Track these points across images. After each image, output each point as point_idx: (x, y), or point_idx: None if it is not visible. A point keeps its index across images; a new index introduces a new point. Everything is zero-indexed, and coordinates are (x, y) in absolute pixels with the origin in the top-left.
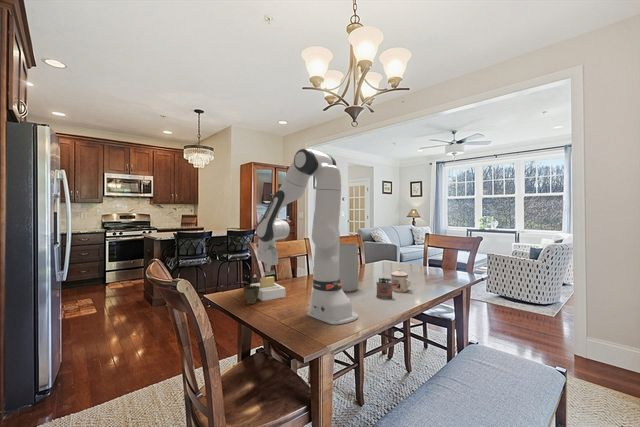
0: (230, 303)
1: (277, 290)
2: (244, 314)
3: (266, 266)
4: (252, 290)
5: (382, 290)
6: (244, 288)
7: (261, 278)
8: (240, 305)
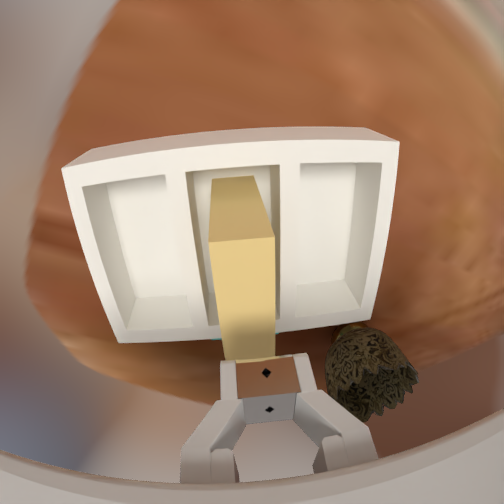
0: None
1: (387, 212)
2: (430, 356)
3: (235, 431)
4: (408, 386)
5: None
6: None
7: (253, 358)
8: None
